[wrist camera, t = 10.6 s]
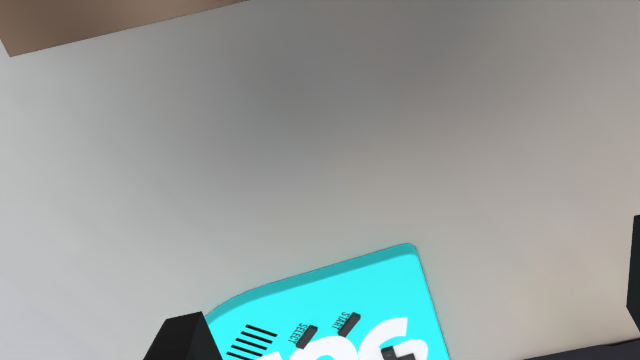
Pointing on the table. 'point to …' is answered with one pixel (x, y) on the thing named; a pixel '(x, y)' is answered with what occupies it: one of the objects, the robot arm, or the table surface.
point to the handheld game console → (336, 314)
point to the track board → (84, 19)
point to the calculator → (598, 353)
